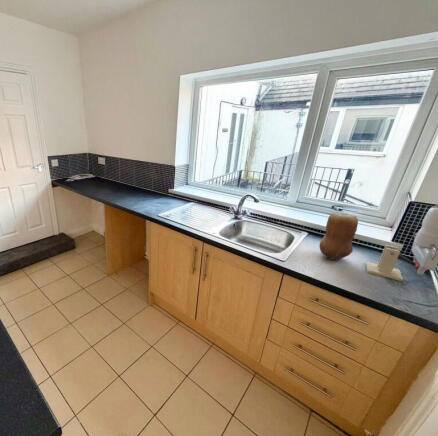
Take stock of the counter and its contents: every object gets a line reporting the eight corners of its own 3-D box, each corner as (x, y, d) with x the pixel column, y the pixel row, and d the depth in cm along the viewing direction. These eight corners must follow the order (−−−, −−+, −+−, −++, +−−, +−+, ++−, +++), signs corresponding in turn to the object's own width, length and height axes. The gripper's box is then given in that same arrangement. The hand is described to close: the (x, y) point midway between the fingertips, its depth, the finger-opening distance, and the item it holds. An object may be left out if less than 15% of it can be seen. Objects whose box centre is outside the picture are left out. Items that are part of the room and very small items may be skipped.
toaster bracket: (398, 271, 116) (408, 247, 111) (402, 281, 108) (413, 256, 104) (365, 263, 122) (374, 240, 118) (367, 272, 115) (376, 248, 110)
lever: (414, 265, 110) (419, 262, 109) (417, 270, 106) (422, 266, 105) (385, 249, 115) (389, 245, 113) (386, 253, 111) (391, 249, 110)
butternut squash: (323, 248, 136) (337, 207, 126) (352, 259, 125) (369, 215, 116) (311, 256, 129) (324, 212, 119) (340, 268, 119) (357, 221, 109)
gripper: (449, 252, 93) (434, 283, 98) (434, 235, 109) (421, 262, 114) (425, 248, 97) (412, 277, 102) (414, 232, 112) (403, 258, 117)
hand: (417, 269), depth 108 cm, fingers open, 7 cm apart
